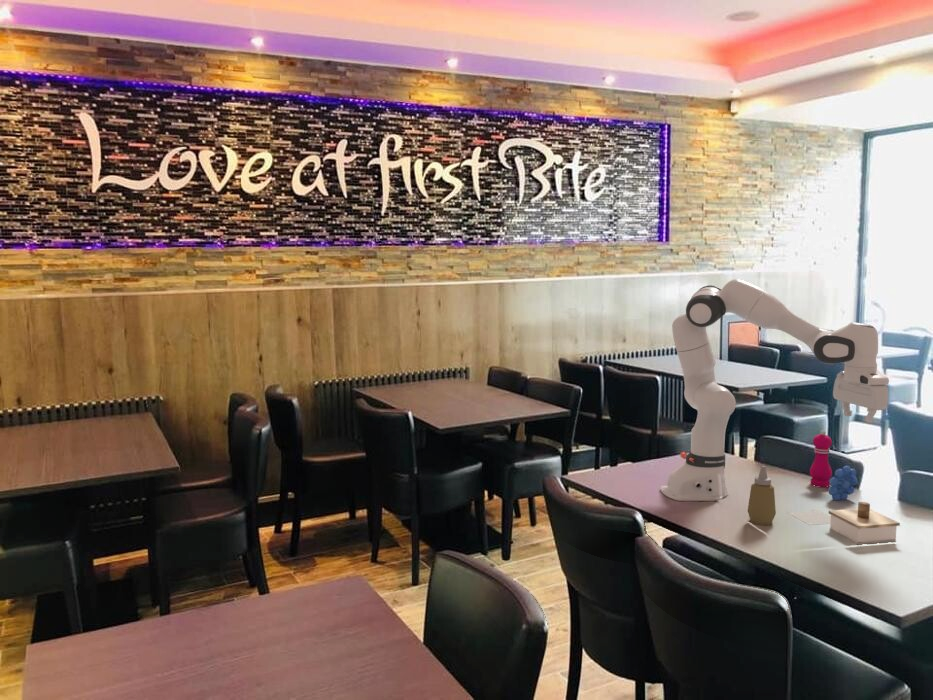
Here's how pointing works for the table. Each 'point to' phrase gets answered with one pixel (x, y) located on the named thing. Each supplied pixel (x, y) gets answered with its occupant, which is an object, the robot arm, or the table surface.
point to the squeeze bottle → (762, 500)
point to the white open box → (863, 532)
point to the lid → (863, 517)
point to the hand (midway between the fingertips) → (857, 418)
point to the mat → (812, 517)
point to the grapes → (842, 483)
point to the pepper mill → (821, 461)
